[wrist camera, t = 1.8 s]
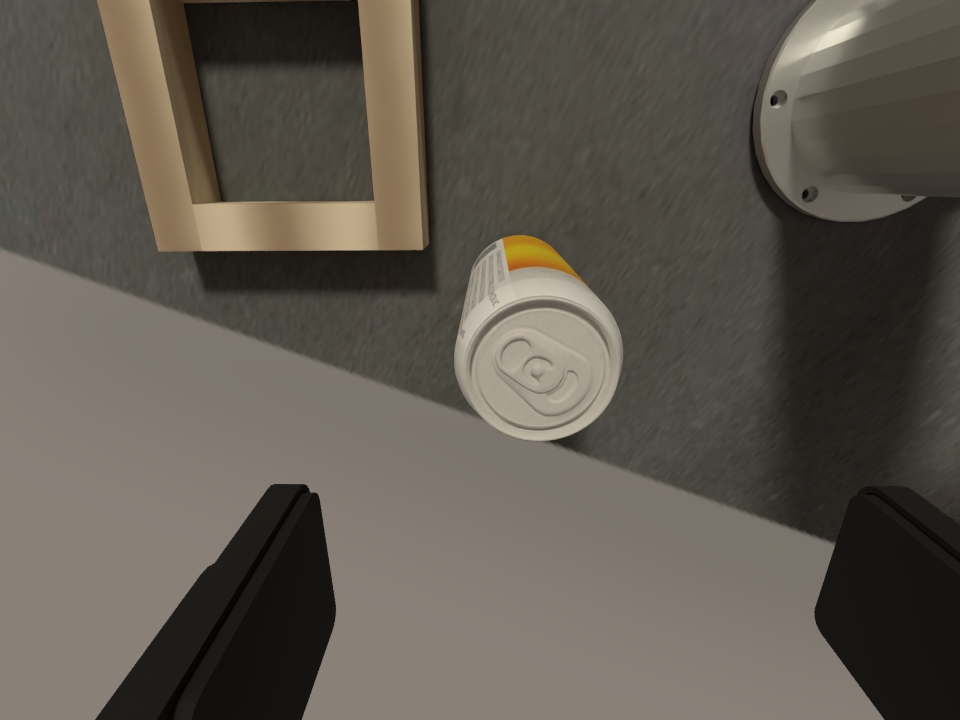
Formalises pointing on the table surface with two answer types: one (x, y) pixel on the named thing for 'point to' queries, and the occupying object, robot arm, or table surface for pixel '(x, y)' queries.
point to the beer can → (535, 343)
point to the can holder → (188, 156)
